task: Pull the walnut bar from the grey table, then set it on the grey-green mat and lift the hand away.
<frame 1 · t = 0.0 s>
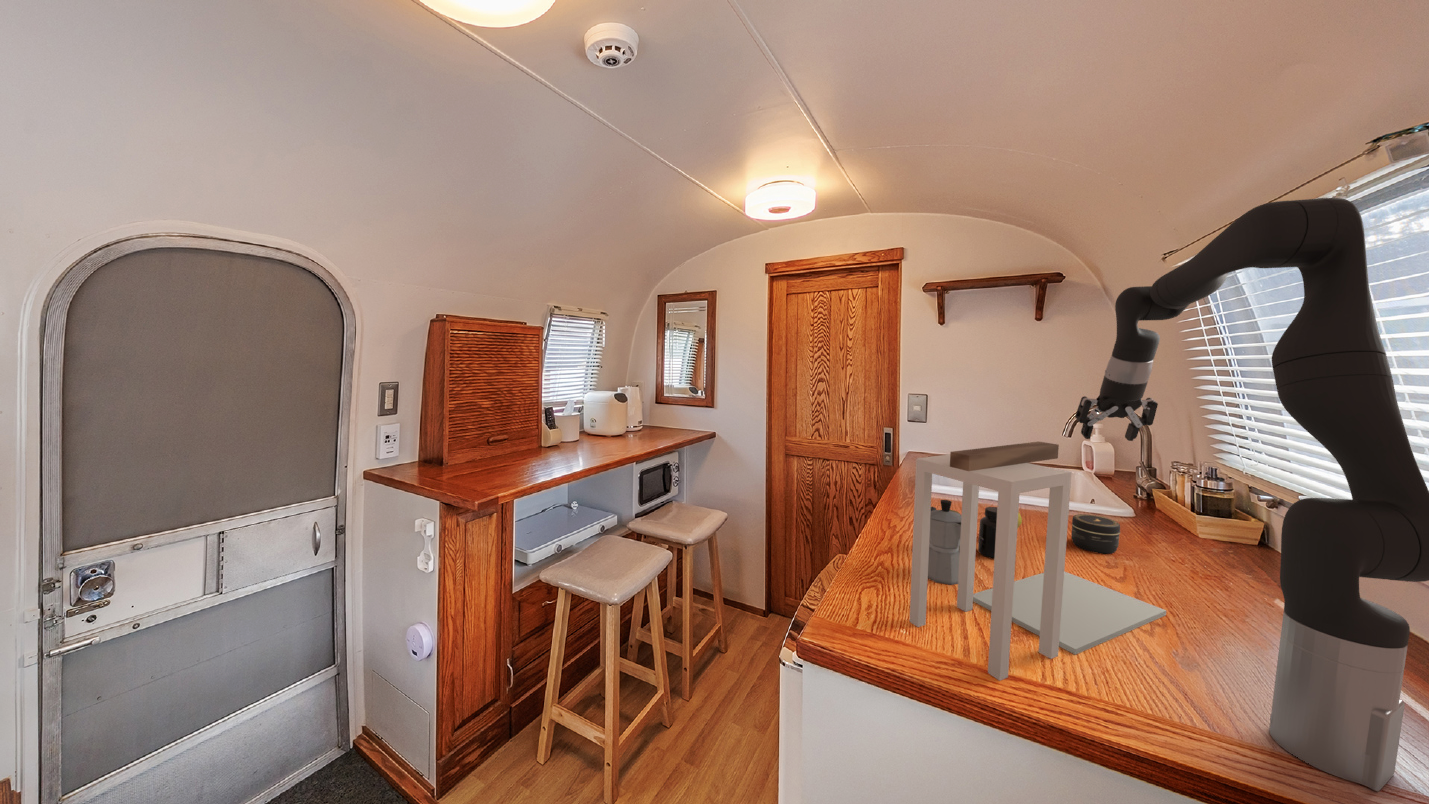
hand: (1107, 438, 111), 31 cm above the counter, tool tilted 20°, fingers open, 8 cm apart
supplement bottle: (993, 555, 120), on the counter
cork: (948, 552, 122), on the counter
light bulb: (1005, 542, 128), on the counter
jar: (1093, 548, 124), on the counter
grey-green mat: (1064, 607, 95), on the counter
walnut bar: (1005, 462, 83), point 32 cm above the counter, touching grey table
coffee maker: (938, 574, 109), on the counter
grey table: (979, 637, 84), on the counter
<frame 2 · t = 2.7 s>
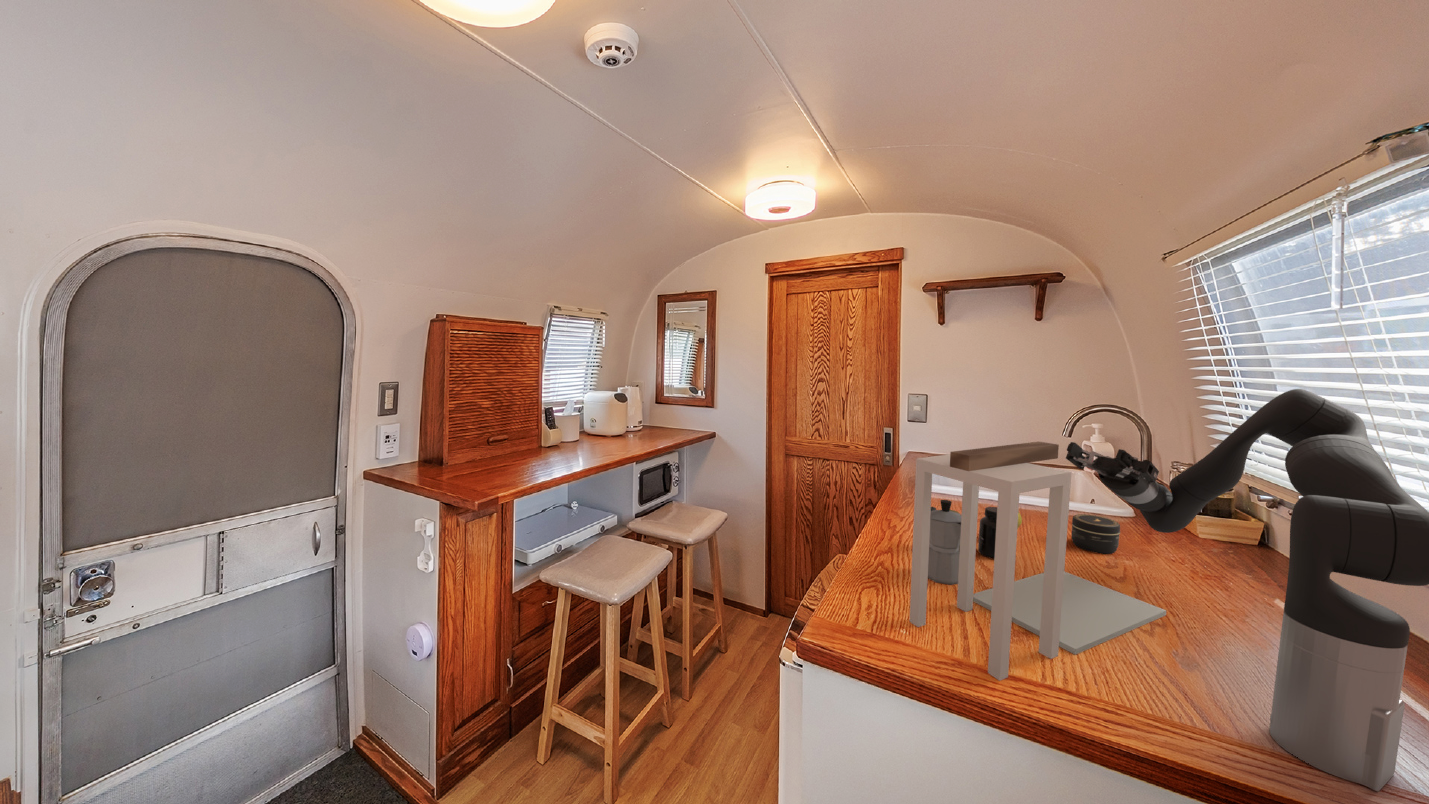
hand: (1094, 449, 94), 32 cm above the counter, tool pointing upward, fingers open, 8 cm apart
nothing on the counter moved.
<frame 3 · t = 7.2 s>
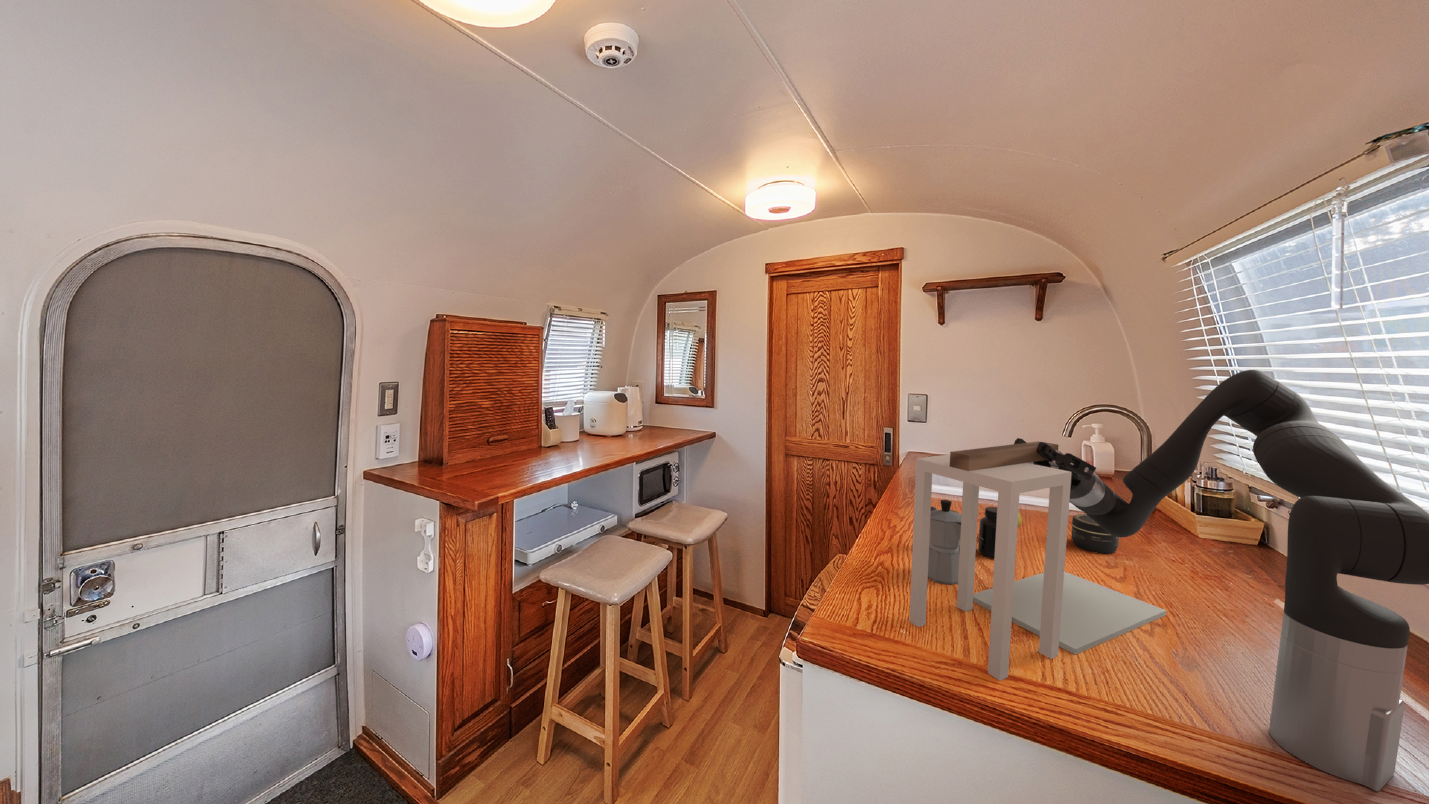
hand: (1028, 444, 85), 35 cm above the counter, tool pointing upward, fingers closed on walnut bar, 3 cm apart
walnut bar: (1005, 462, 83), point 32 cm above the counter, touching gripper, grey table
everything else where it was.
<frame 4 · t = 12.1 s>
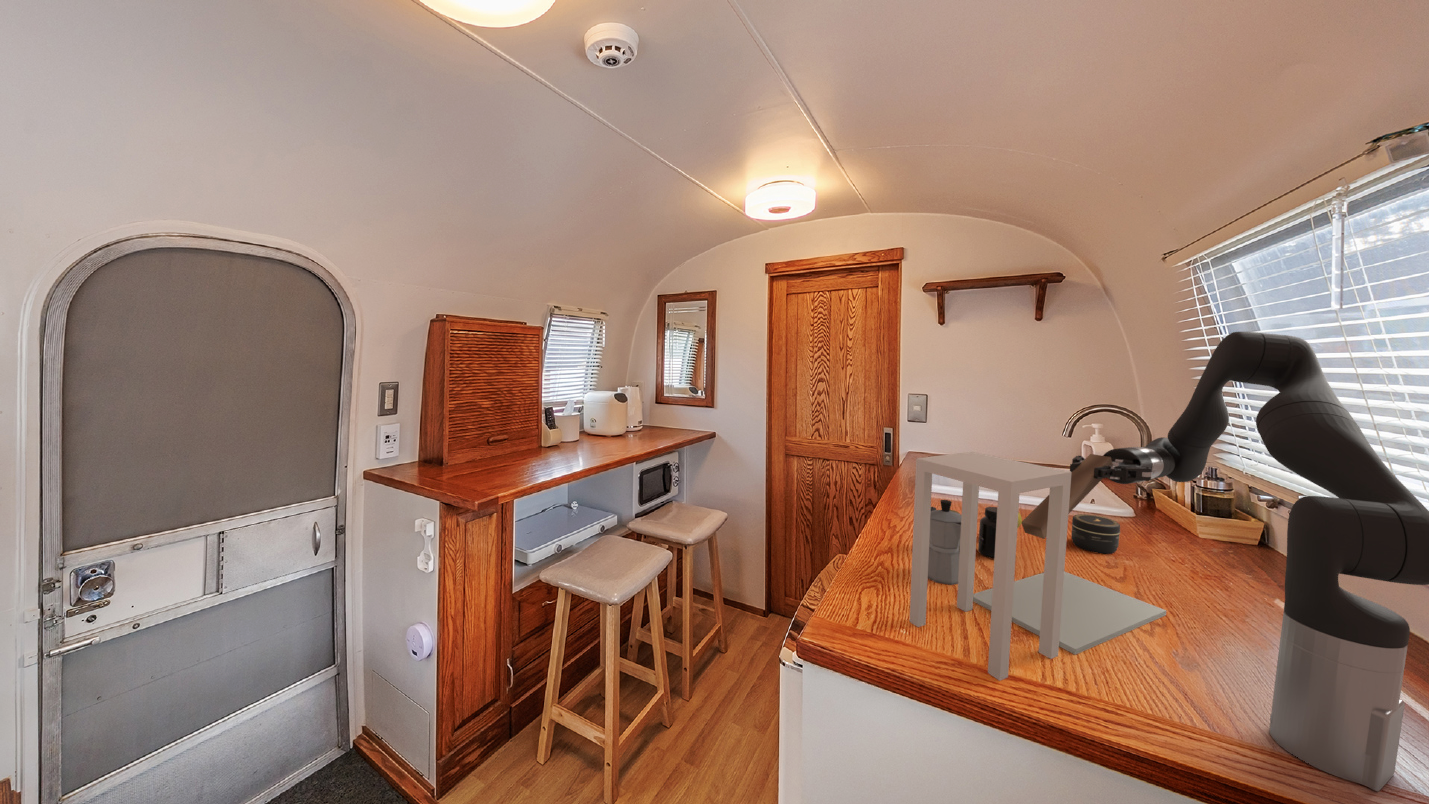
hand: (1084, 471, 93), 28 cm above the counter, tool horizontal, fingers closed on walnut bar, 3 cm apart
walnut bar: (1070, 499, 92), point 23 cm above the counter, tilted 29°, touching gripper
everything else where it was.
when the fingers open (13 cm above the counter, at t = 15.4 s): walnut bar drops 7 cm, resting on grey-green mat.
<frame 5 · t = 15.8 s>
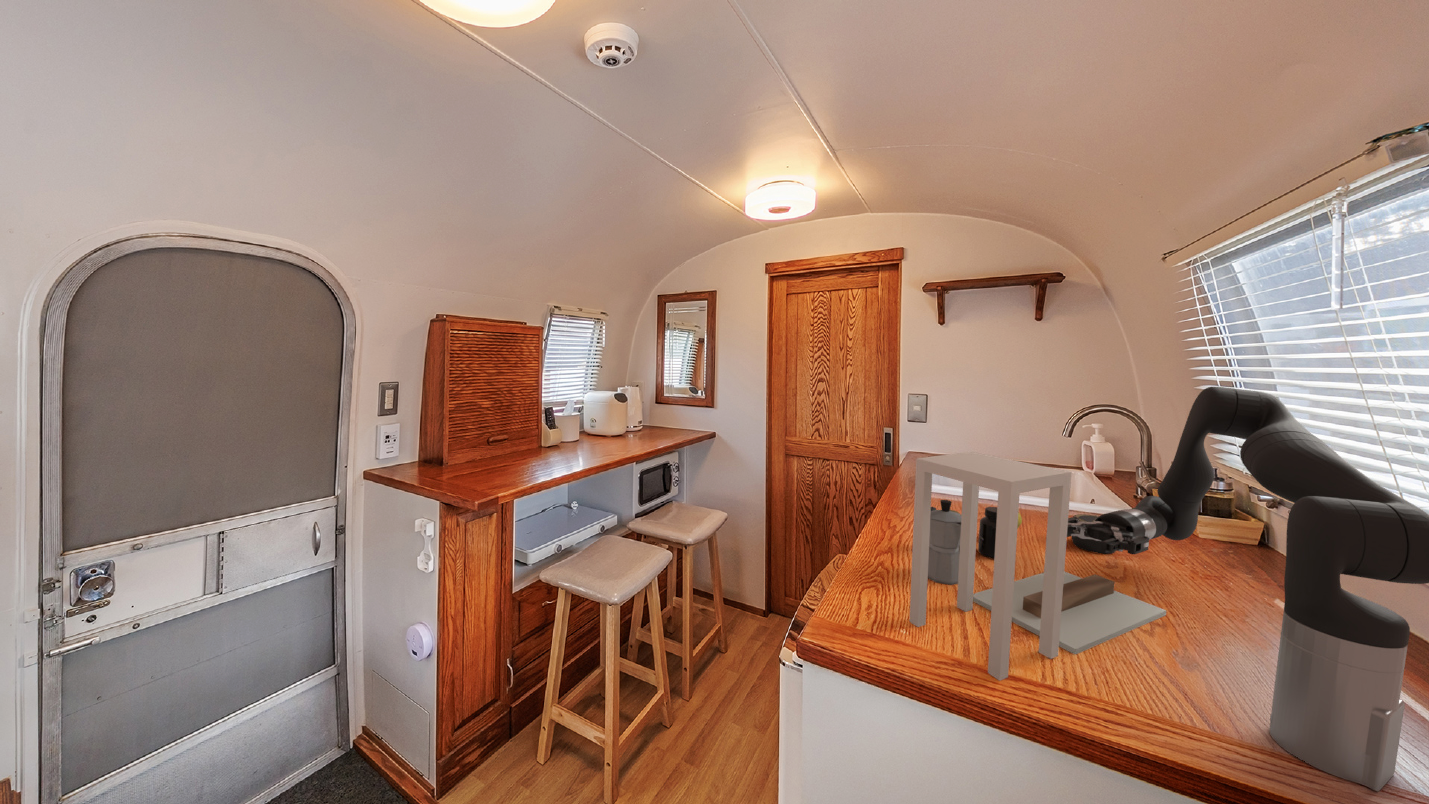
hand: (1080, 539, 95), 14 cm above the counter, tool horizontal, fingers open, 7 cm apart
walnut bar: (1069, 601, 95), point 1 cm above the counter, touching grey-green mat
everything else where it was.
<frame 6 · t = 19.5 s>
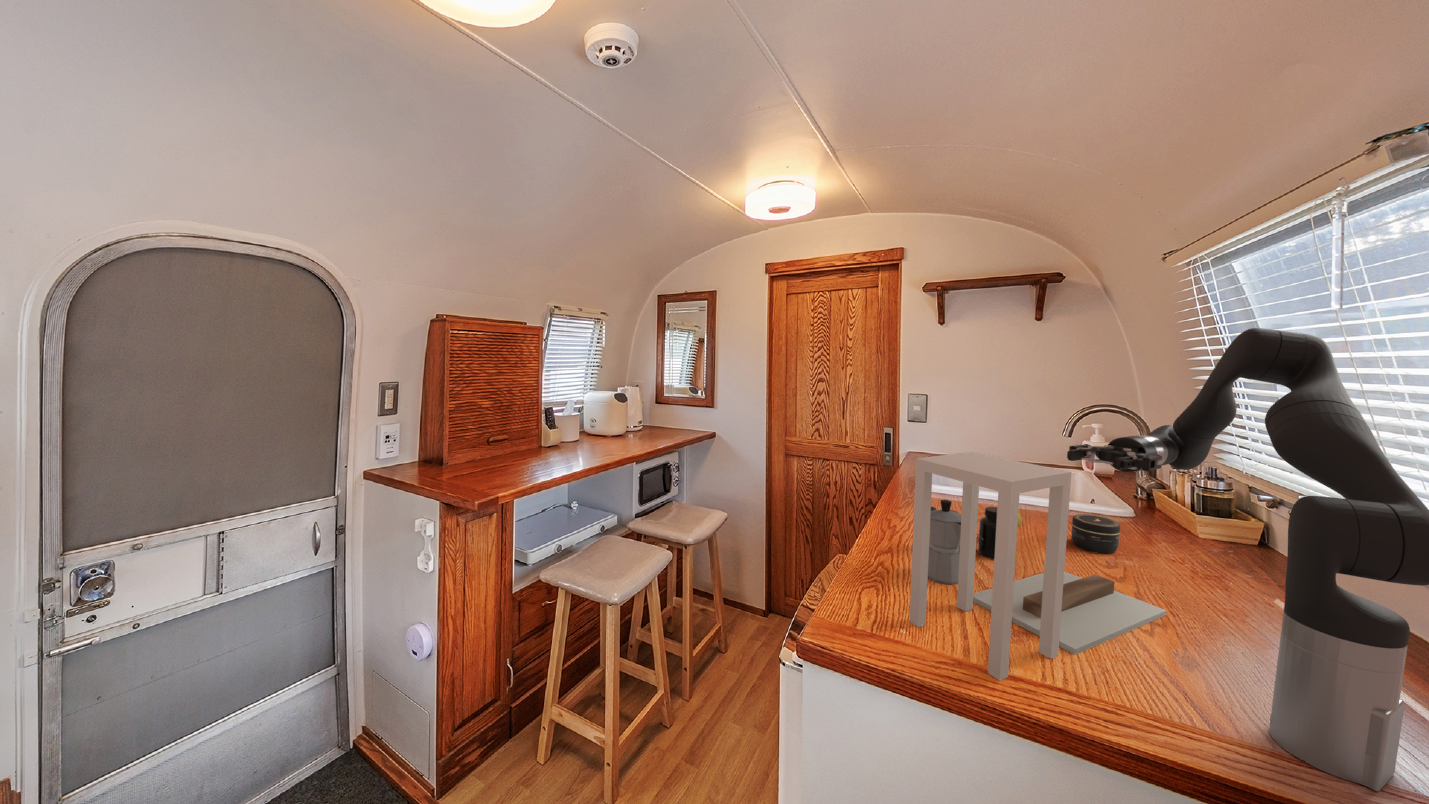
hand: (1093, 459, 94), 30 cm above the counter, tool horizontal, fingers open, 8 cm apart
nothing on the counter moved.
at the end: walnut bar inside the target area (1.0 cm from its centre), point 1.0 cm above the counter; walnut bar touching grey-green mat; the gripper is holding nothing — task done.
